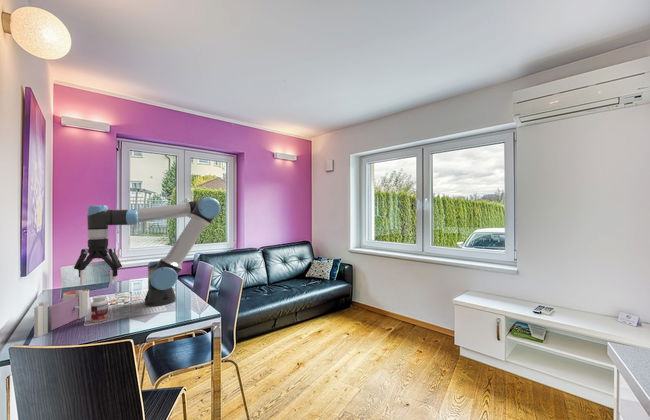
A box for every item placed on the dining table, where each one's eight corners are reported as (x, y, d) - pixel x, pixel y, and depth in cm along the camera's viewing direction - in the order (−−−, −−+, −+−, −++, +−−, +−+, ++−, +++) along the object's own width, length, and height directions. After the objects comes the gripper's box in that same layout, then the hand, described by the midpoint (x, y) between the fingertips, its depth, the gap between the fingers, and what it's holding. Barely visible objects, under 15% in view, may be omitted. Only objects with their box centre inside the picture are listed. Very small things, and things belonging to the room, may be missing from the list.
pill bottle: (89, 320, 131) (89, 296, 132) (106, 316, 136) (106, 293, 136) (92, 323, 127) (92, 299, 128) (109, 319, 132) (109, 296, 132)
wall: (87, 315, 139) (87, 288, 139) (38, 337, 114) (38, 304, 114) (84, 315, 139) (84, 288, 139) (33, 337, 114) (33, 304, 114)
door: (81, 318, 133) (81, 297, 134) (52, 331, 119) (52, 307, 119) (75, 318, 133) (75, 297, 133) (45, 331, 118) (45, 307, 119)
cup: (73, 315, 138) (73, 295, 138) (57, 314, 140) (57, 294, 140) (94, 309, 148) (94, 289, 148) (78, 308, 150) (78, 289, 150)
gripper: (130, 237, 137) (130, 281, 136) (77, 238, 136) (77, 282, 136) (119, 238, 129) (119, 285, 129) (63, 239, 128) (63, 286, 128)
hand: (98, 283), depth 132 cm, fingers open, 13 cm apart
